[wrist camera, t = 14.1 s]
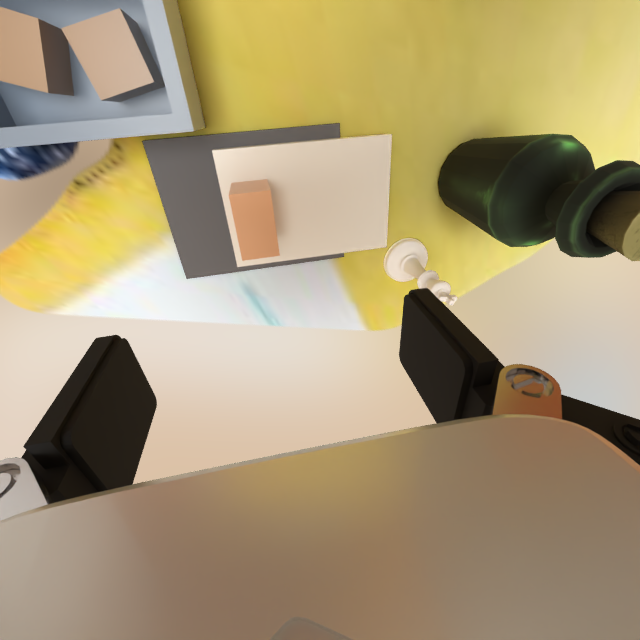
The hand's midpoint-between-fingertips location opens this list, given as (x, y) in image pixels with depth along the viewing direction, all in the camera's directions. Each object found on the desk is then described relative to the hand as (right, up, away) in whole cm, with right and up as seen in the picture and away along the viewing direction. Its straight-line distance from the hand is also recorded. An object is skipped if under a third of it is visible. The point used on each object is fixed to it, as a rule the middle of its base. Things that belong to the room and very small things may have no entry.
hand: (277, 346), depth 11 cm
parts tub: (-15, +19, +12) cm, 27 cm away
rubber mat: (-4, +11, +19) cm, 23 cm away
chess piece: (+11, +8, +25) cm, 28 cm away
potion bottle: (+16, +15, +21) cm, 31 cm away
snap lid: (0, +12, +19) cm, 23 cm away
